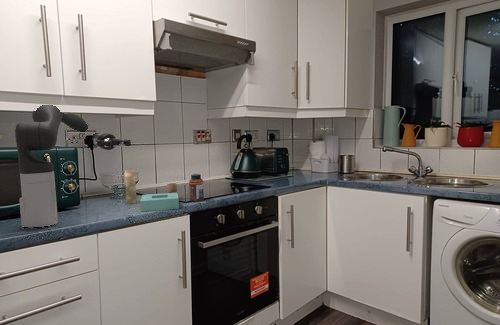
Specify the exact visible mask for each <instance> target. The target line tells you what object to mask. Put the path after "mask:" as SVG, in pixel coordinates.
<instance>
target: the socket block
mask: <svg viewBox="0 0 500 325" xmlns="http://www.w3.org/2000/svg"><path fill="white" fill-rule="evenodd" d="M179 200H180V199H179V194H178V192H177V193H168V192H166V193H165V192H164V193H153V194H152V193H151V194H142V195H141V198H140V200H139V205H140V207H139V208H140V209H139V210H140V212H152V211H155V212H156V211H165V210H166V211H167V210H179V209H180V205H179V204H180V201H179Z"/></svg>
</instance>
